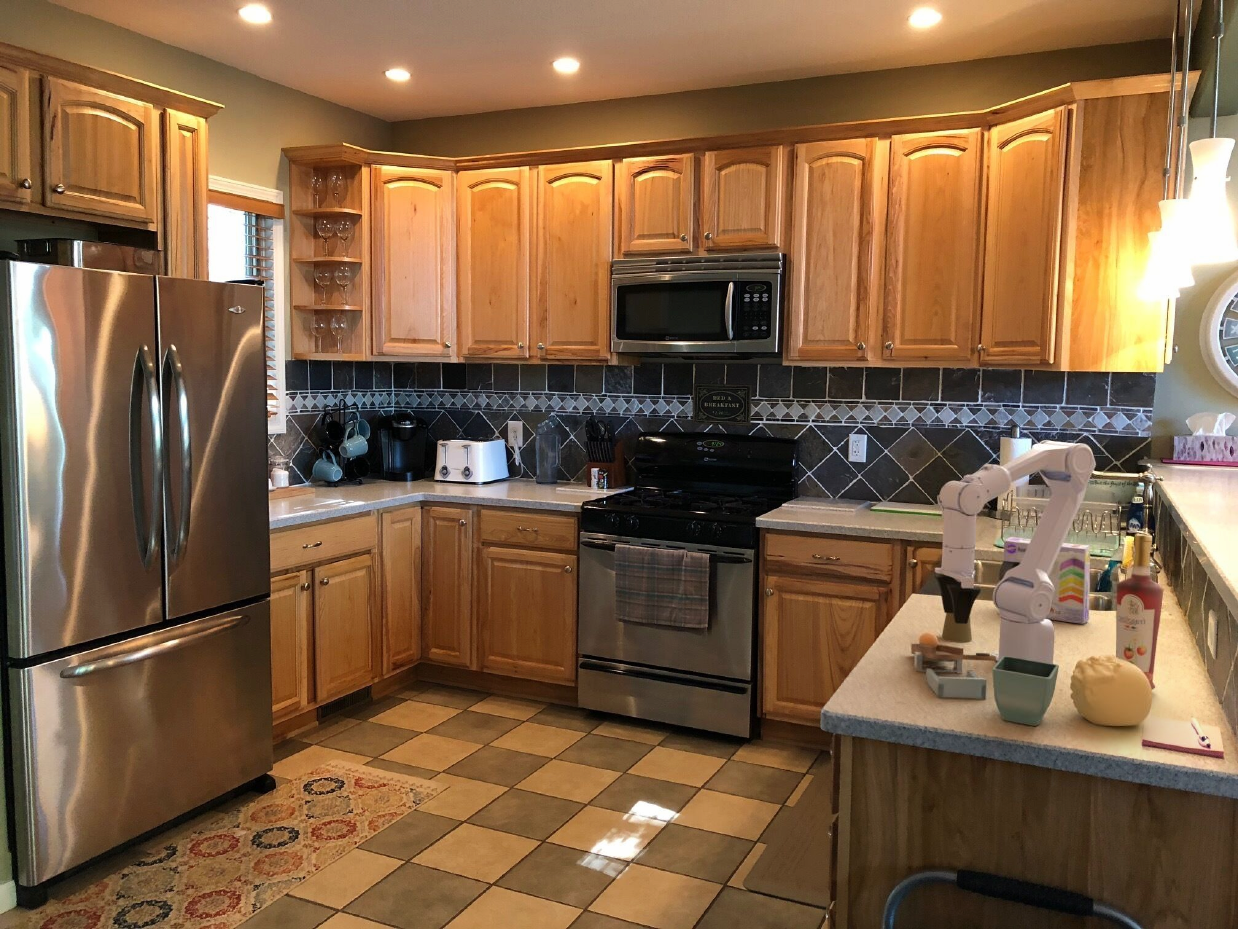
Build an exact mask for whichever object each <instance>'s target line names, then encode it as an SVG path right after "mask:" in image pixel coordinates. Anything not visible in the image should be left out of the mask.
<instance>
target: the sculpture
mask: <svg viewBox="0 0 1238 929" xmlns="http://www.w3.org/2000/svg"><path fill="white" fill-rule="evenodd" d="M1070 681H1071V682H1070V686H1069V688H1070V690H1071V691H1072V692H1071V693H1070V698H1071V700H1073V701H1072V703H1073V706H1074V707H1075V708H1076V711H1077V713H1078V714H1080V715H1082V716H1083V717H1084V718H1085V719H1086V720H1087V721H1088V722H1090V723H1092V724H1095V725H1097V726H1098V725H1099V726H1105V727H1108V726H1109V727H1131V726H1138V725H1140V724H1141V723H1143V722H1144V721H1145V720H1146V718H1147V717H1148V715H1149V714H1150V711H1151V709H1152V704H1153V690H1152V689H1151V686H1150V683H1149V681H1148V679H1147V677H1146V675H1145V674H1144V673H1143V672H1142V671H1141V670H1140V669H1139V668H1138V667H1137V666H1135V665H1134V664H1132V663H1130V662H1128V661H1125V660H1122V659H1118V658H1117V657H1116V655H1115V654H1111V653H1110V654H1102V655H1095V656H1094V655H1092V656H1090V657H1088V658H1085V659H1079V660H1078V661H1077V662H1076V664H1075V666H1074V669H1073V671H1072V674H1071V677H1070Z"/></svg>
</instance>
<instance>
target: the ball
mask: <svg viewBox="0 0 1238 929" xmlns="http://www.w3.org/2000/svg"><path fill="white" fill-rule="evenodd" d="M918 644H920V645H924V646H930V647H935V648H936V647H937V644H939V641H938V638H937V636H936V635H935V634H933V632H924V633H923V634H921V635H920V637H919V639H918Z"/></svg>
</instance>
